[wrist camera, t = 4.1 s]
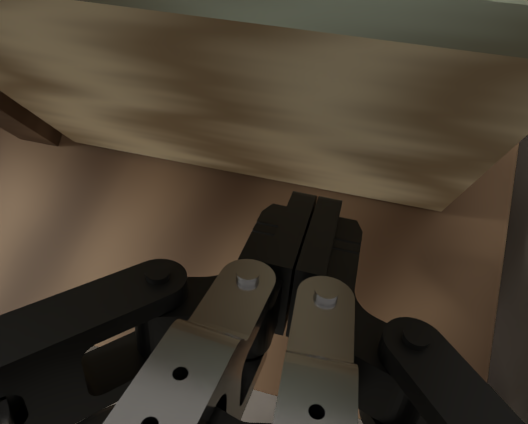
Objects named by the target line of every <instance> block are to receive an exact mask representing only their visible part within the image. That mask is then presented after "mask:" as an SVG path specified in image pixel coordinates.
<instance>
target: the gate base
mask: <svg viewBox="0 0 528 424" xmlns="http://www.w3.org/2000/svg"><path fill="white" fill-rule="evenodd" d="M518 148H519V143H518V144H517V145H515V146H514V147H513V148H512V149H511V150H510V151H509V152H508V153H507V154H505V155H504V156H503V157H502V158H501V159H500V160H499V161H498V162H496V163H495V164H494V165H493V166H492V167H491V168H490V169H489V170H487V171H486V172H485V173H484V174H483V175H482V176H481V177H480V178H478V179H477V180H476V181H475V182H474V183H473V184H472V185H471V186H469V187H468V188H467V189H466V190H465V191H464V192H463V193H462V194H461V195H459V196H458V197H457V198H456V199H455V200H454V201H453V202H452V203H450V204H449V205H448V206H447V207H446V208H445V209H444V210H443V211H441V212H440V211H435V210H429V209H424V208H419V207H414V206H408V205H403V204H398V203H393V202H387V201H382V200H377V199H371V198H366V197H361V196H356V195H350V194H345V193H340V192H335V191H329V190H324V189H319V188H314V187H308V186H303V185H298V184H293V183H287V182H282V181H277V180H272V179H266V178H261V177H256V176H250V175H245V174H240V173H235V172H229V171H224V170H219V169H214V168H208V167H203V166H198V165H193V164H187V163H182V162H177V161H172V160H166V159H161V158H156V157H151V156H145V155H140V154H135V153H129V152H124V151H119V150H114V149H108V148H103V147H98V146H93V145H87V144H82V143H77V142H74V141H72V140H71V139H69V138H68V137H66V136H65V135H64V134H62V133H61V132H59V131H58V130H56V129H55V128H53V127H52V126H51V125H49V124H48V123H46V122H45V121H43V120H42V119H40V118H39V117H38V116H36V115H35V114H33V113H32V112H30V111H29V110H27V109H26V108H24V107H23V106H22V105H20V104H19V103H17V102H16V101H14V100H13V99H11V98H10V97H9V96H7V95H6V94H4V93H3V92H1V91H0V315H2V314H5V313H7V312H10V311H13V310H15V309H18V308H21V307H23V306H26V305H29V304H32V303H34V302H37V301H40V300H42V299H45V298H48V297H50V296H53V295H56V294H59V293H61V292H64V291H67V290H69V289H72V288H75V287H77V286H80V285H83V284H86V283H88V282H91V281H94V280H96V279H99V278H102V277H105V276H107V275H110V274H113V273H115V272H118V271H121V270H123V269H126V268H129V267H132V266H134V265H137V264H140V263H142V262H145V261H148V260H152V259H169V260H173V261H176V262H178V263H179V264H181V265H182V266H183V267H184V268H185V270H186V272H187V277H209V276H215V275H219V273H220V272H221V270H222V269H223V268H224V266H226V265H227V264H229V263H230V262H233V261H235V260H238V258H239V256H240V254H241V252H242V250H243V248H244V246H245V244H246V242H247V240H248V238H249V236H250V234H251V232H252V230H253V228H254V226H255V224H256V222H257V220H258V218H259V216H260V214H261V212H262V211H263V210H264V209H266V208H267V207H268V206H270V205H271V204H278V205H283V206H287V204H288V202H289V199H290V197H291V195H292V192H293V191H296V192H301V193H306V194H311V195H316V196H317V199H318V197H319V196H322V197H327V198H332V199H337V200H342V207H341V212H340V217H343V218H348V219H352V220H357V221H358V223H359V225H360V227H361V229H362V231H363V234H362V241H361V248H360V254H359V262H358V270H357V277H356V284H355V296H356V298H357V301H358V302H359V304H360V305H361V306H362V307H363V308H364V309H365V310H366V311H367V312H368V313H370V314H371V315H373V316H374V317H376V318H378V319H380V320H382V321H384V322H386V323H388V322H389V321H390V320H392V319H395V318H399V317H411V318H416V319H419V320H422V321H424V322H426V323H428V324H430V325H431V326H433V327H434V328H436V329H437V330H438V331H439V332H440V333H441V334H442V335H443V336H444V338H445V339H446V340H447V341H448V342H449V343H450V344H451V345H452V346H453V347H454V348H455V349H456V350H457V351H458V353H459V354H460V355H461V356H462V357H463V358H464V359H465V360H466V361H467V362H468V363H469V364H470V365H471V366H472V368H473V369H474V370H475V371H476V372H477V373H478V374H479V375H480V376H481V377H482V378H483V379H484V380H485V381H486V383H487V380H488V373H489V365H490V358H491V350H492V343H493V335H494V328H495V320H496V313H497V305H498V298H499V290H500V283H501V275H502V268H503V260H504V253H505V245H506V238H507V230H508V223H509V215H510V208H511V200H512V193H513V185H514V178H515V170H516V163H517V155H518ZM316 203H317V201H316ZM287 323H288V321H287ZM286 330H287V324H286V327H285V331H284V334H283V336H282V335H278V334H274V335H273V338H272V342H271V345H270V347H269V349H268V352H267V357H266V360H265V363H264V365H263V367H262V370H261V372H260V375H259V377H258V379H257V382H256V384H255V386H254V389H253V390H257V391H261V392H264V393H268V394H271V395H275V396H278V391H279V385H280V380H281V374H282V369H283V363H284V358H285V353H286V350H287V344H288V339H289V337H286ZM134 331H135V327H134V328H132V329H129V330H127V331H125V332H123V333H120V334H118V335H116V336H114V337H111V338H109V339H107V340H105V341H102V342H100V343H98V344H96V345H94V346H97V347H101V346H103V345H105V344H107V343H110V342H112V341H114V340H116V339H118V338H121V337H123V336H125V335H127V334H130V333H132V332H134ZM358 418H359V419H361V418H360V414H359V409H358Z"/></svg>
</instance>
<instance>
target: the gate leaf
mask: <svg viewBox="0 0 528 424" xmlns="http://www.w3.org/2000/svg"><path fill="white" fill-rule="evenodd" d="M0 91H1V92H3V93H4V94H6V95H7V96H9V97H10V98H11V99H13V100H14V101H16V102H17V103H19V104H20V105H22V106H23V107H24V108H26V109H27V110H29V111H30V112H32V113H33V114H35V115H36V116H38V117H39V118H40V119H42V120H43V121H45V122H46V123H48V124H49V125H51V126H52V127H53V128H55V129H56V130H58V131H59V132H61V133H62V134H64V135H65V136H66V137H68V138H69V139H71V140H72V141H74V142H77V143H82V144H87V145H93V146H98V147H103V148H108V149H114V150H119V151H124V152H129V153H135V154H140V155H145V156H151V157H156V158H161V159H166V160H172V161H177V162H182V163H187V164H193V165H198V166H203V167H208V168H214V169H219V170H224V171H229V172H235V173H240V174H245V175H250V176H256V177H261V178H266V179H272V180H277V181H282V182H287V183H293V184H298V185H303V186H308V187H314V188H319V189H324V190H329V191H335V192H340V193H345V194H350V195H356V196H361V197H366V198H371V199H377V200H382V201H387V202H393V203H398V204H403V205H408V206H414V207H419V208H424V209H429V210H435V211H440V212H441V211H443V210H444V209H445V208H446V207H447V206H448V205H449V204H450V203H452V202H453V201H454V200H455V199H456V198H457V197H458V196H459V195H461V194H462V193H463V192H464V191H465V190H466V189H467V188H468V187H469V186H471V185H472V184H473V183H474V182H475V181H476V180H477V179H478V178H480V177H481V176H482V175H483V174H484V173H485V172H486V171H487V170H489V169H490V168H491V167H492V166H493V165H494V164H495V163H496V162H498V161H499V160H500V159H501V158H502V157H503V156H504V155H505V154H507V153H508V152H509V151H510V150H511V149H512V148H513V147H514V146H515V145H517V144H518V143H519V142H520V141H521V140H522V139H523V138H524V137H526V136H527V135H528V0H0Z"/></svg>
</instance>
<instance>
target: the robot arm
mask: <svg viewBox="0 0 528 424" xmlns="http://www.w3.org/2000/svg"><path fill="white" fill-rule="evenodd" d="M316 201H317V203H316ZM341 207H342V200H337V199H332V198H327V197H322V196H319V197H318V199H317V196H316V195H311V194H306V193H301V192H296V191H293V192H292V195H291V197H290V199H289V202H288V204H287V206H283V205H278V204H271V205H270V206H268V207H267V208H266V209H264V210H263V211H262V212H261V214H260V216H259V218H258V220H257V222H256V224H255V226H254V228H253V230H252V232H251V234H250V236H249V238H248V240H247V242H246V244H245V246H244V248H243V250H242V252H241V254H240V256H239V258H238V260H235V261H233V262H230V263H229V264H227V265H226V266H224V268H223V269H222V270H221V272H220V273H219V275H215V276H209V277H187V272H186V270H185V268H184V267H183V266H182V265H181V264H179V263H178V262H176V261H173V260H169V259H152V260H148V261H145V262H142V263H140V264H137V265H134V266H132V267H129V268H126V269H123V270H121V271H118V272H115V273H113V274H110V275H107V276H105V277H102V278H99V279H96V280H94V281H91V282H88V283H86V284H83V285H80V286H77V287H75V288H72V289H69V290H67V291H64V292H61V293H59V294H56V295H53V296H50V297H48V298H45V299H42V300H40V301H37V302H34V303H32V304H29V305H26V306H23V307H21V308H18V309H15V310H13V311H10V312H7V313H5V314H2V315H0V424H75V423H76V424H271V423H248V422H243V421H241V418H242V415H243V412H244V410H245V408H246V405H247V403H248V401H249V398H250V396H251V393H252V391H253V389H254V386H255V384H256V382H257V379H258V377H259V375H260V372H261V370H262V367H263V365H264V363H265V360H266V357H267V352H268V349H269V347H270V345H271V342H272V338H273V335H274V334H278V335H282V336H283V334H284V331H285V327H286V324H287V330H286V337H289V339H288V344H287V350H286V353H285V358H284V363H283V369H282V374H281V380H280V385H279V391H278V397H277V402H276V408H275V413H274V419H273V424H358V409H359V414H360V418H361V420H362V422H363V424H525V423H524V422H523V421H522V420H521V419H520V418H519V417H518V416H517V415H516V414H515V413H514V412H513V410H512V409H511V408H510V407H509V406H508V405H507V404H506V403H505V402H504V401H503V400H502V399H501V398H500V397H499V395H498V394H497V393H496V392H495V391H494V390H493V389H492V388H491V387H490V386H489V385H488V384H487V383H486V381H485V380H484V379H483V378H482V377H481V376H480V375H479V374H478V373H477V372H476V371H475V370H474V369H473V368H472V366H471V365H470V364H469V363H468V362H467V361H466V360H465V359H464V358H463V357H462V356H461V355H460V354H459V353H458V351H457V350H456V349H455V348H454V347H453V346H452V345H451V344H450V343H449V342H448V341H447V340H446V339H445V338H444V336H443V335H442V334H441V333H440V332H439V331H438V330H437V329H436V328H434V327H433V326H431V325H430V324H428V323H426V322H424V321H422V320H419V319H416V318H411V317H399V318H395V319H392V320H390V321H389V322H388V323H386V322H384V321H382V320H380V319H378V318H376V317H374V316H373V315H371V314H370V313H368V312H367V311H366V310H365V309H364V308H363V307H362V306H361V305H360V304H359V302H358V301H357V298H356V296H355V284H356V277H357V270H358V262H359V254H360V248H361V241H362V234H363V231H362V229H361V227H360V225H359V223H358V221H357V220H352V219H348V218H343V217H340V212H341ZM287 321H288V323H287ZM134 327H135V331H134V332H132V333H130V334H127V335H125V336H123V337H121V338H118V339H116V340H114V341H112V342H110V343H107V344H105V345H103V346H101V347H99V348H96V349H94V350H92V351H90V352H87V353H85V352H86V351H87V350H88V349H89V348H91V347H92V346H94V345H96V344H98V343H100V342H102V341H105V340H107V339H109V338H111V337H114V336H116V335H118V334H120V333H123V332H125V331H127V330H129V329H132V328H134ZM84 353H85V354H84ZM117 401H118V402H117ZM115 402H117V404H115V405H112V406H110V405H111V404H113V403H115ZM108 406H109V407H108ZM106 407H107V408H106ZM104 408H105V409H104ZM83 419H84V420H83ZM81 420H82V421H81ZM79 421H80V422H79ZM77 422H78V423H77Z"/></svg>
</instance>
